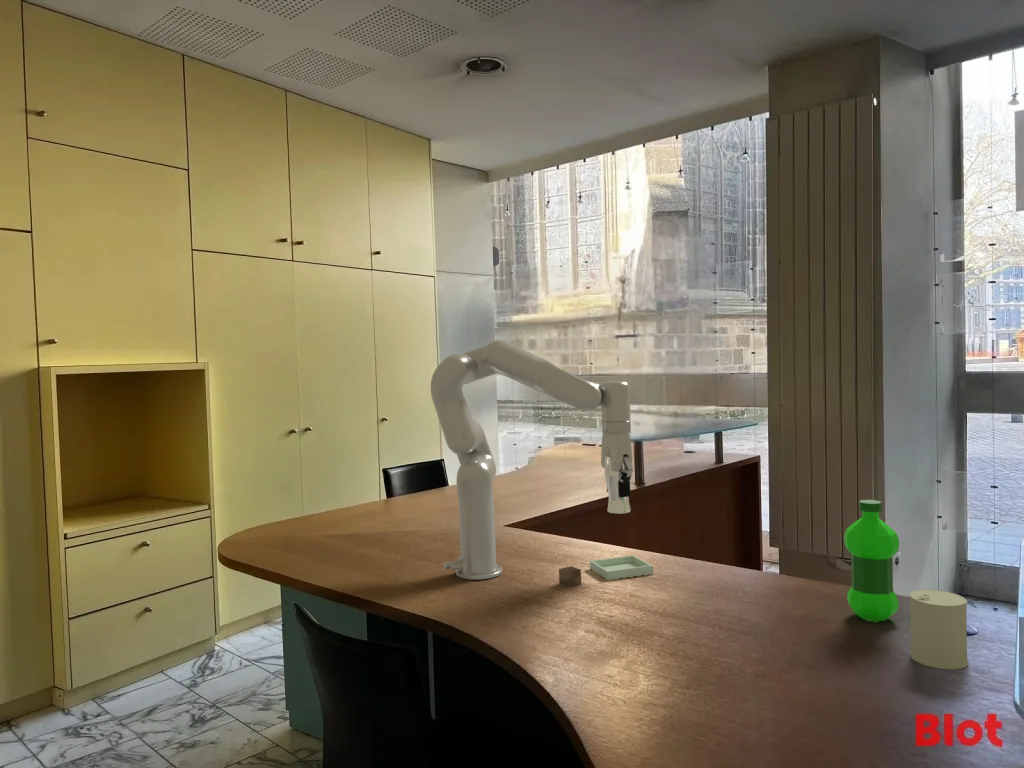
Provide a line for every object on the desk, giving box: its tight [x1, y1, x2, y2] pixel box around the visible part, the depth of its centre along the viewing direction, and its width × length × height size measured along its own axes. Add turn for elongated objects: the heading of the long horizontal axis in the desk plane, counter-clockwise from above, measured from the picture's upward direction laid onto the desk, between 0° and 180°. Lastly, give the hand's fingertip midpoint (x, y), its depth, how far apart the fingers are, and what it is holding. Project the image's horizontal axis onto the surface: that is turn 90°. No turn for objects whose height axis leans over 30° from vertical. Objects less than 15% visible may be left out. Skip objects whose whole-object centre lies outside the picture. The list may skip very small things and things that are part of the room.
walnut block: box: [558, 565, 582, 589], centre depth 187 cm, size 4×4×4 cm
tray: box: [589, 554, 654, 581], centre depth 196 cm, size 13×11×2 cm
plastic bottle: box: [843, 499, 900, 622], centre depth 156 cm, size 10×10×25 cm
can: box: [909, 589, 969, 671], centre depth 135 cm, size 9×9×12 cm
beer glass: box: [604, 455, 631, 514], centre depth 196 cm, size 7×7×15 cm
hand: (618, 493), depth 196 cm, fingers closed on beer glass, 6 cm apart
